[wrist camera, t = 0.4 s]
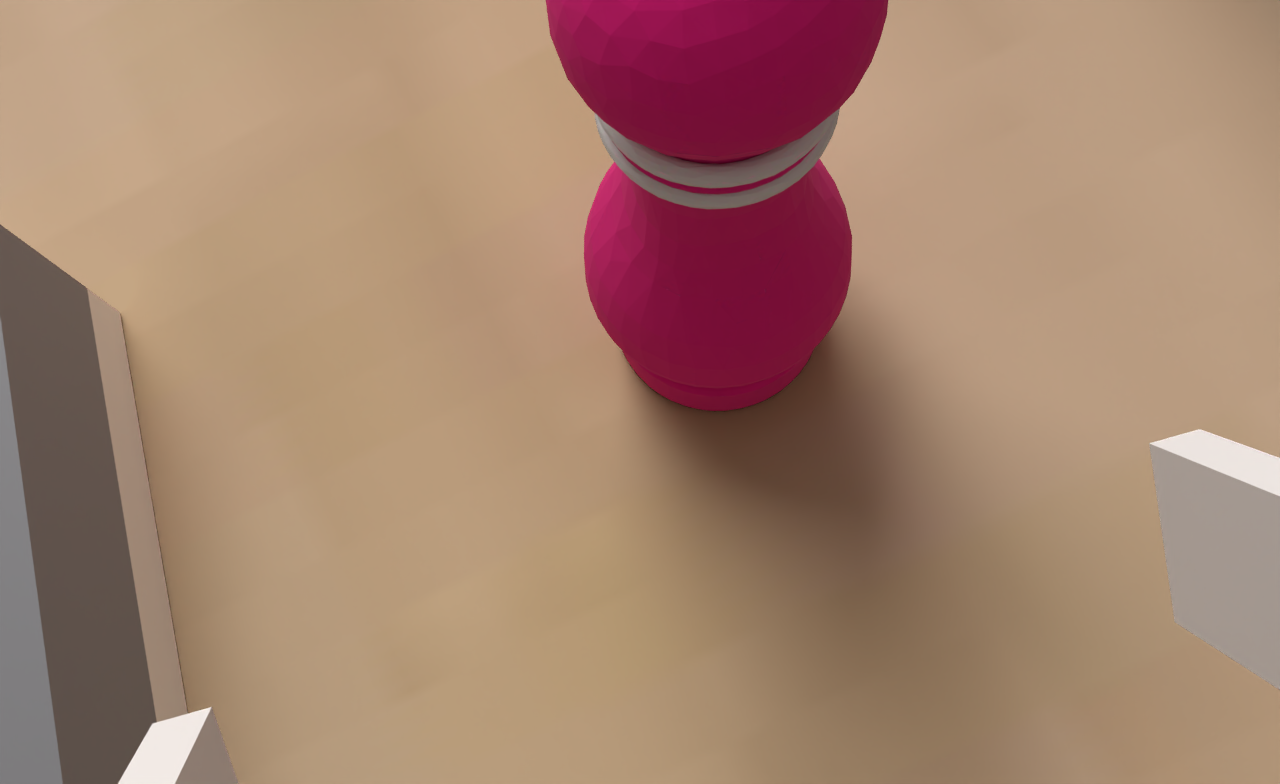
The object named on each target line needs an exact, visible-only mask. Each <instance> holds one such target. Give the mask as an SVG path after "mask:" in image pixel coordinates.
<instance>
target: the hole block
mask: <svg viewBox="0 0 1280 784" xmlns="http://www.w3.org/2000/svg"><path fill="white" fill-rule="evenodd" d="M185 714H188V711H187V706H186V700H185V694H184V688H183V682H182V676H181V670H180V664H179V658H178V652H177V647H176V641H175V635H174V629H173V623H172V617H171V611H170V605H169V599H168V593H167V587H166V582H165V576H164V570H163V564H162V558H161V552H160V546H159V540H158V534H157V528H156V523H155V517H154V511H153V505H152V499H151V493H150V487H149V481H148V475H147V469H146V463H145V458H144V452H143V446H142V440H141V434H140V428H139V422H138V416H137V410H136V404H135V399H134V393H133V387H132V381H131V375H130V369H129V363H128V357H127V351H126V345H125V340H124V334H123V328H122V322H121V316H120V312H119V311H118V310H116V309H115V308H113V307H112V306H111V305H109V304H108V303H107V302H105V301H104V300H103V299H101V298H100V297H98V296H97V295H96V294H94V293H93V292H92V291H90V290H89V289H87V288H86V287H85V286H83V285H82V284H81V283H79V282H78V281H77V280H75V279H74V278H72V277H71V276H70V275H68V274H67V273H66V272H64V271H63V270H62V269H60V268H59V267H57V266H56V265H55V264H53V263H52V262H51V261H49V260H48V259H47V258H45V257H44V256H42V255H41V254H40V253H38V252H37V251H36V250H34V249H33V248H31V247H30V246H29V245H27V244H26V243H25V242H23V241H22V240H21V239H19V238H18V237H16V236H15V235H14V234H12V233H11V232H10V231H8V230H7V229H6V228H4V227H3V226H1V225H0V784H118V783H119V781H120V779H121V777H122V776H123V774H124V772H125V770H126V769H127V767H128V765H129V763H130V762H131V760H132V758H133V757H134V755H135V753H136V751H137V750H138V748H139V746H140V744H141V743H142V741H143V739H144V737H145V736H146V734H147V732H148V730H149V729H150V727H151V725H152V724H153V723H156V722H160V721H164V720H167V719H171V718H174V717H178V716H181V715H185Z"/></svg>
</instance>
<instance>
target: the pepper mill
mask: <svg viewBox="0 0 1280 784" xmlns="http://www.w3.org/2000/svg"><path fill="white" fill-rule="evenodd" d="M546 5H547V13H548V20H549V28H550V35H551V38H552V41H553V43H554V46H555V48H556V51H557V53H558V56H559V58H560V61H561V63H562V66H563V68H564V71H565V73H566V76H567V78H568V80H569V81H570V83H571V84H572V85H573V87H574V88H575V89H576V91H577V92H578V93H579V95H580V96H581V97H582V99H583V100H584V101H585V103H586V104H587V105H588V107H589V108H590V109H592V110H593V111H594V112H595V120H596V124H597V128H598V132H599V134H600V137H601V139H602V142H603V144H604V146H605V148H606V149H607V151H608V153H609V155H610V156H611V158H612V159H613V160H614V163H613V165H612V166H611V167H610V169H609V170H608V171H607V173H606V175H605V176H604V178H603V180H602V182H601V184H600V186H599V189H598V191H597V194H596V197H595V200H594V202H593V205H592V208H591V210H590V213H589V216H588V220H587V225H586V230H585V236H584V260H585V275H586V283H587V287H588V292H589V296H590V300H591V302H592V305H593V307H594V310H595V312H596V314H597V317H598V319H599V320H600V322H601V323H602V325H603V327H604V328H605V330H606V331H607V333H608V334H609V336H610V337H611V338H612V339H613V341H614V342H615V343H616V344H617V345H618V346H619V347H620V348H621V349H622V350H623V352H624V355H625V357H626V359H627V360H628V362H629V364H630V365H631V367H632V368H633V369H634V371H635V372H636V373H637V375H638V376H639V377H640V378H641V379H642V380H643V381H644V382H645V383H646V384H647V385H648V386H649V387H650V388H652V389H653V390H655V391H656V392H657V393H659V394H660V395H662V396H664V397H666V398H667V399H669V400H671V401H674V402H676V403H679V404H681V405H684V406H687V407H691V408H696V409H701V410H709V411H727V410H733V409H740V408H744V407H748V406H751V405H754V404H757V403H759V402H762V401H764V400H766V399H768V398H770V397H771V396H773V395H775V394H776V393H778V392H780V391H781V390H782V389H783V388H785V387H786V386H787V385H788V384H790V383H791V382H792V381H793V379H794V378H795V377H796V376H797V375H798V374H799V373H800V372H801V370H802V369H803V367H804V366H805V365H806V363H807V362H808V360H809V358H810V356H811V354H812V352H813V350H814V348H815V347H816V346H817V345H818V344H819V343H820V342H821V341H822V339H823V338H824V337H825V335H826V334H827V333H828V332H829V330H830V328H831V327H832V325H833V324H834V322H835V320H836V319H837V317H838V315H839V313H840V311H841V308H842V306H843V303H844V301H845V298H846V295H847V291H848V286H849V282H850V276H851V256H852V235H851V230H850V226H849V221H848V217H847V213H846V208H845V205H844V203H843V201H842V198H841V196H840V193H839V191H838V189H837V186H836V184H835V182H834V180H833V179H832V177H831V176H830V174H829V173H828V171H827V169H826V168H825V166H824V165H823V163H822V162H821V160H820V159H819V158H820V157H821V155H822V154H823V152H824V150H825V148H826V146H827V145H828V143H829V141H830V139H831V137H832V135H833V132H834V130H835V127H836V124H837V120H838V115H839V109H840V107H841V106H842V105H843V104H844V103H845V101H846V100H847V99H848V98H849V97H850V96H851V95H852V94H853V93H854V91H855V89H856V88H857V86H858V84H859V82H860V81H861V79H862V77H863V75H864V74H865V72H866V70H867V69H868V67H869V65H870V63H871V62H872V59H873V56H874V54H875V51H876V48H877V46H878V43H879V40H880V37H881V34H882V30H883V27H884V23H885V19H886V16H887V7H888V0H546Z"/></svg>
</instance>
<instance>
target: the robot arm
mask: <svg viewBox="0 0 1280 784" xmlns="http://www.w3.org/2000/svg"><path fill="white" fill-rule="evenodd" d="M1149 445H1150V452H1151V459H1152V466H1153V473H1154V480H1155V487H1156V494H1157V501H1158V508H1159V515H1160V522H1161V529H1162V536H1163V543H1164V550H1165V557H1166V564H1167V571H1168V578H1169V585H1170V592H1171V599H1172V606H1173V613H1174V620H1175V623H1177V624H1178V625H1180V626H1182V627H1183V628H1185V629H1186V630H1188V631H1189V632H1191V633H1192V634H1194V635H1196V636H1197V637H1199V638H1200V639H1202V640H1203V641H1205V642H1206V643H1208V644H1209V645H1211V646H1213V647H1214V648H1216V649H1217V650H1219V651H1220V652H1222V653H1223V654H1225V655H1227V656H1228V657H1230V658H1231V659H1233V660H1234V661H1236V662H1237V663H1239V664H1240V665H1242V666H1244V667H1245V668H1247V669H1248V670H1250V671H1251V672H1253V673H1254V674H1256V675H1258V676H1259V677H1261V678H1262V679H1264V680H1265V681H1267V682H1268V683H1270V684H1271V685H1273V686H1275V687H1276V688H1278V689H1279V690H1280V458H1279V457H1276V456H1273V455H1270V454H1267V453H1265V452H1262V451H1259V450H1256V449H1254V448H1251V447H1248V446H1245V445H1242V444H1240V443H1237V442H1234V441H1231V440H1228V439H1226V438H1223V437H1220V436H1217V435H1214V434H1212V433H1209V432H1206V431H1203V430H1201V429H1199V430H1195V431H1192V432H1188V433H1184V434H1181V435H1177V436H1174V437H1170V438H1167V439H1163V440H1160V441H1156V442H1152V443H1149ZM118 784H239V783H238V780H237V778H236V775H235V772H234V769H233V766H232V763H231V761H230V758H229V755H228V752H227V749H226V746H225V743H224V741H223V738H222V735H221V732H220V729H219V726H218V723H217V721H216V718H215V715H214V712H213V709H212V707H210V708H206V709H203V710H199V711H196V712H192V713H188V714H185V715H181V716H178V717H174V718H171V719H167V720H164V721H160V722H156V723H153V724H152V725H151V727H150V729H149V730H148V732H147V734H146V736H145V737H144V739H143V741H142V743H141V744H140V746H139V748H138V750H137V751H136V753H135V755H134V757H133V758H132V760H131V762H130V763H129V765H128V767H127V769H126V770H125V772H124V774H123V776H122V777H121V779H120V781H119V783H118Z"/></svg>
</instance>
